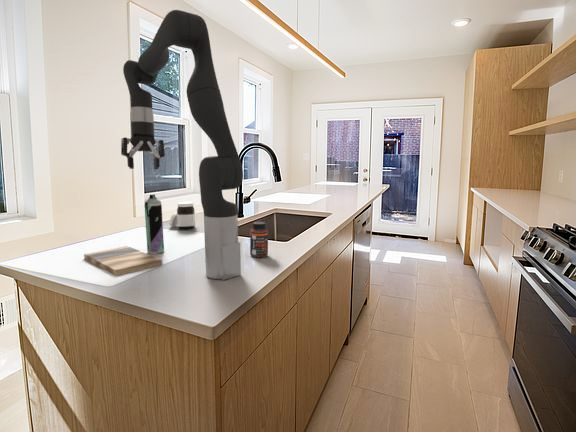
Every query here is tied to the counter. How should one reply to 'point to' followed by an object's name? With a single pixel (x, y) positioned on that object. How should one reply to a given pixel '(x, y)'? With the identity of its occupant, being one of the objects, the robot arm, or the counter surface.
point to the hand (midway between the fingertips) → (144, 168)
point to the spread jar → (184, 216)
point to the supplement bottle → (259, 240)
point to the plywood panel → (122, 260)
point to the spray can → (154, 225)
